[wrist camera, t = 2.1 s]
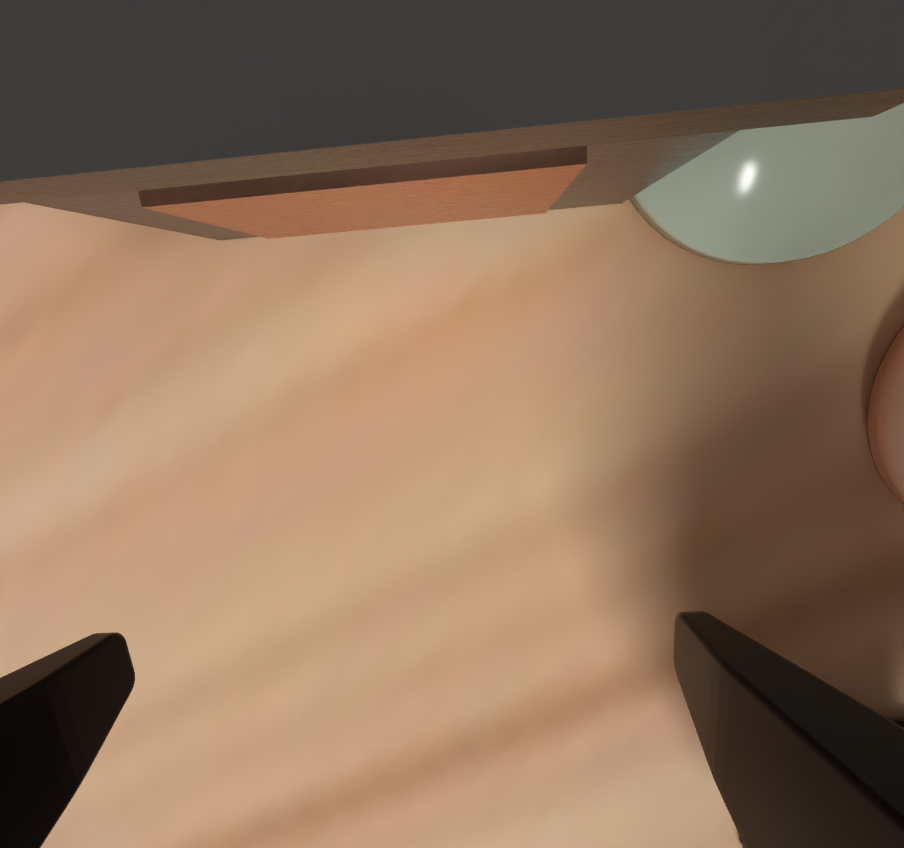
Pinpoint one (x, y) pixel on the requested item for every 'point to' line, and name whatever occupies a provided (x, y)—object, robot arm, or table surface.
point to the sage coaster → (782, 190)
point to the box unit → (407, 102)
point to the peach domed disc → (889, 418)
